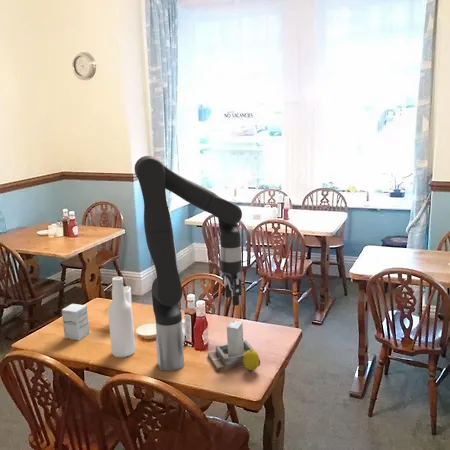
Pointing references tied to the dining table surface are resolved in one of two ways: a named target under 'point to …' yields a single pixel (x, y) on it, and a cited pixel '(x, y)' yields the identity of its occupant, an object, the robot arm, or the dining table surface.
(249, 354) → the lemon
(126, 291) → the cup
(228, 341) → the skincare box
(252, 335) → the dining table surface
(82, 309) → the supplement box
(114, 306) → the alcohol
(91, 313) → the dining table surface
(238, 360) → the grey open rectangular piece
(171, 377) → the dining table surface
